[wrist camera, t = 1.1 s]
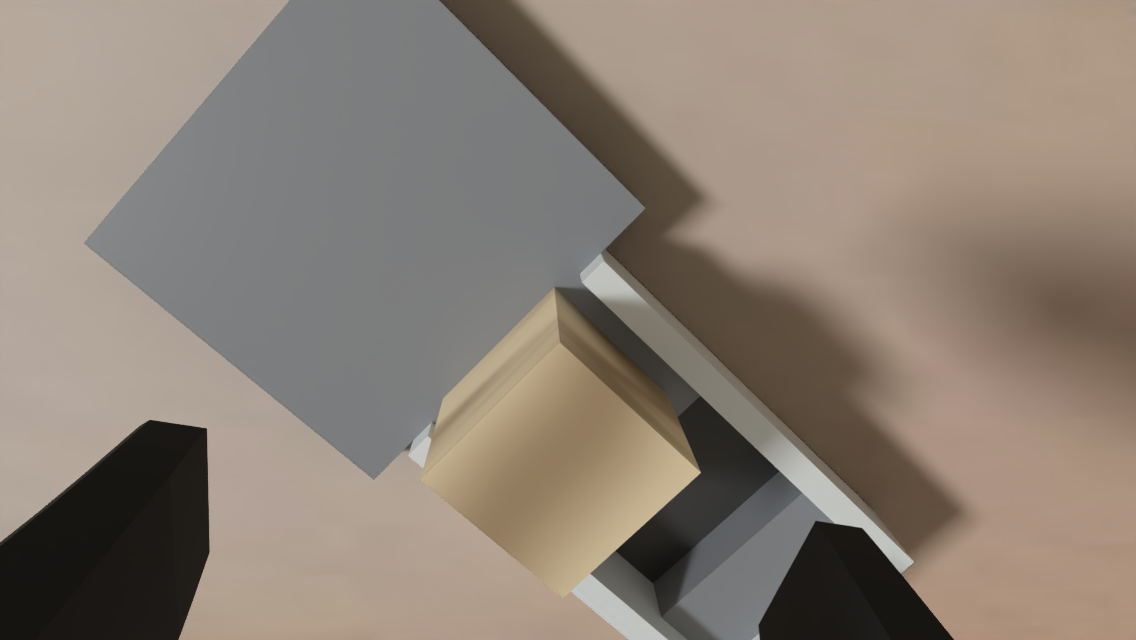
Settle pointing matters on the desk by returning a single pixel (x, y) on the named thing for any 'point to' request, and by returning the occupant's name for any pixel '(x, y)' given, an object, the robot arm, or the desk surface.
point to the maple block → (558, 445)
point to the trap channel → (451, 285)
